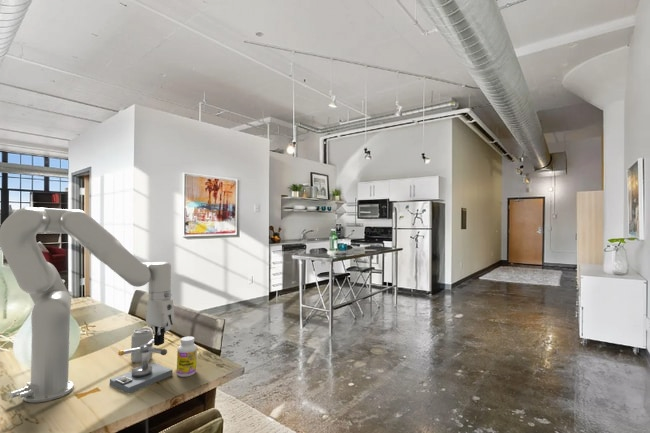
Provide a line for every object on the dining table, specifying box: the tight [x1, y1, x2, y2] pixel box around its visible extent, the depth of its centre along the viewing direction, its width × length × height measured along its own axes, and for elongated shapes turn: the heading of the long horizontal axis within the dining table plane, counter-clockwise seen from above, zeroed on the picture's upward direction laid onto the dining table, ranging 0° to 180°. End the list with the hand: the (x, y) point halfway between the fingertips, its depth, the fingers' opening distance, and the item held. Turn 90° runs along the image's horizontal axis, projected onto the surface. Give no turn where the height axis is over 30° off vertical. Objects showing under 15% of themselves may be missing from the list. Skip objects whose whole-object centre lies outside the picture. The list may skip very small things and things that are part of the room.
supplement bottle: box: [176, 335, 198, 378], centre depth 127 cm, size 7×7×13 cm
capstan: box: [117, 336, 168, 377], centre depth 121 cm, size 14×17×10 cm
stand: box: [109, 362, 173, 395], centre depth 121 cm, size 16×11×4 cm
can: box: [130, 327, 154, 364], centre depth 138 cm, size 8×8×12 cm
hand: (159, 344), depth 129 cm, fingers closed
